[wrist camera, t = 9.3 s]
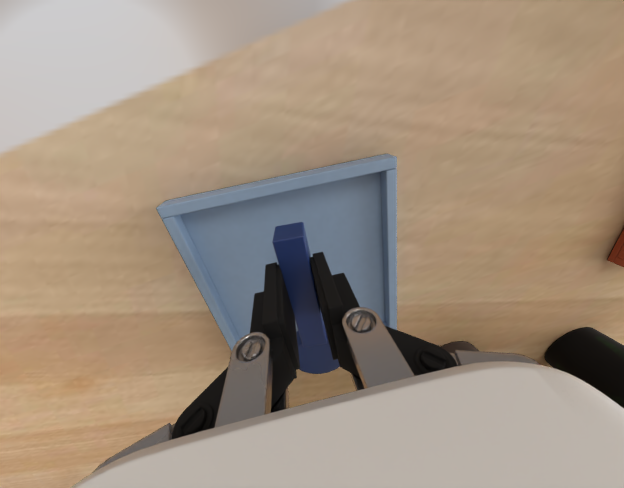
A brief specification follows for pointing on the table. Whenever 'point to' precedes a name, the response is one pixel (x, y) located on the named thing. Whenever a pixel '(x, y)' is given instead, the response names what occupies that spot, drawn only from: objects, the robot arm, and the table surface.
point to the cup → (591, 360)
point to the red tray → (618, 251)
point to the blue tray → (286, 210)
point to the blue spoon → (303, 298)
